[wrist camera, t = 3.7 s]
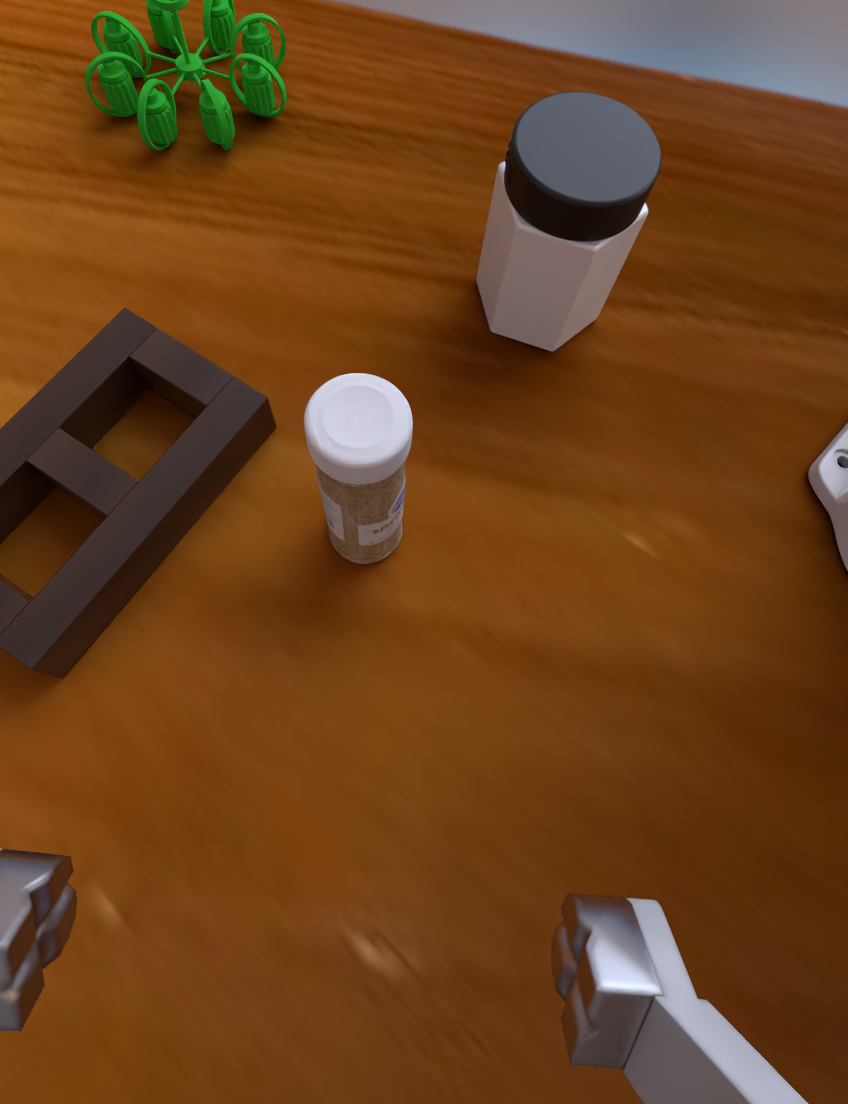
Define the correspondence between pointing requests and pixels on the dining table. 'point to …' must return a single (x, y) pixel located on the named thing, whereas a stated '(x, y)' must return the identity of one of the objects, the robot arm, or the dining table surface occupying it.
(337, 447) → the sprinkles bottle
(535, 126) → the jar
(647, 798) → the dining table surface
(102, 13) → the chandelier
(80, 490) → the holder
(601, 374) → the dining table surface
